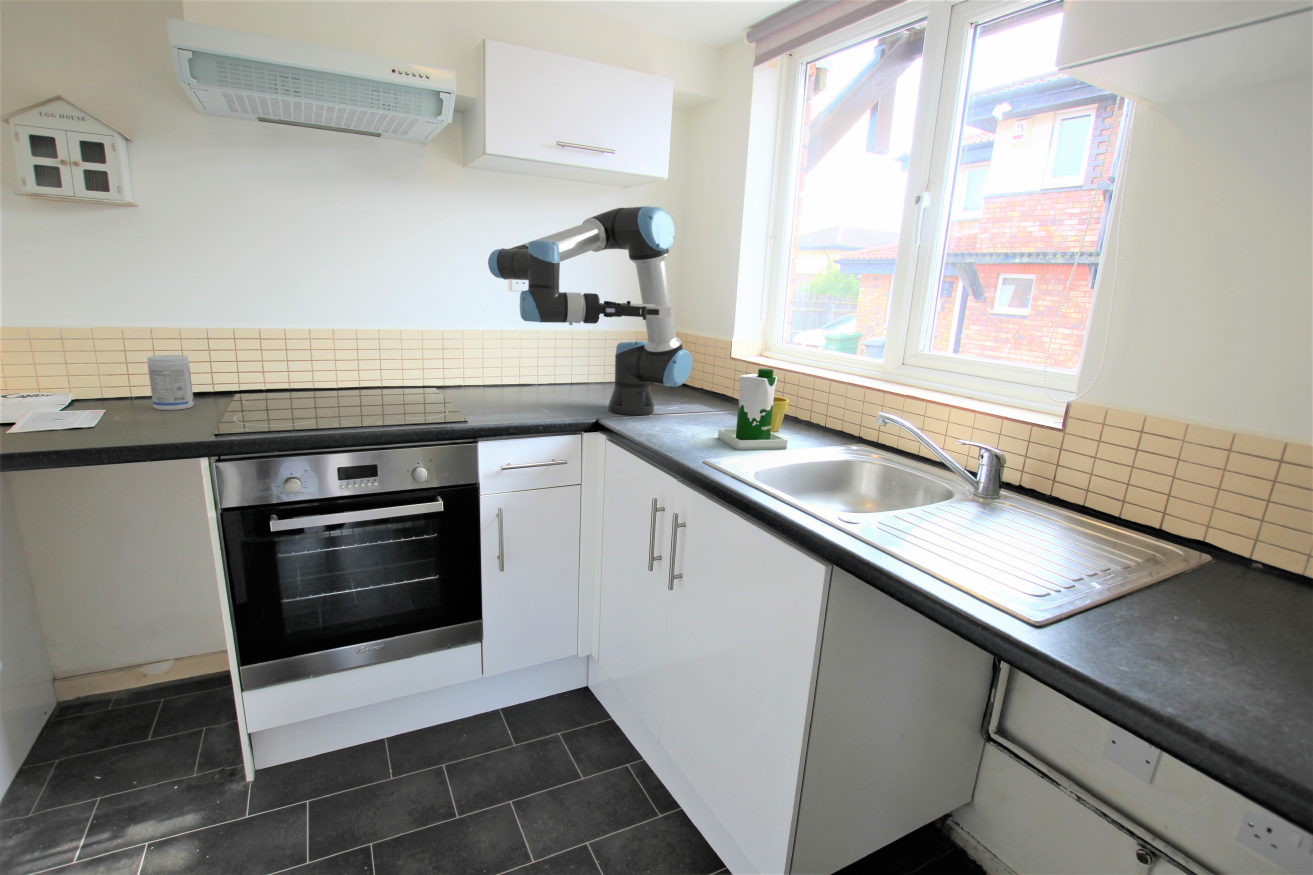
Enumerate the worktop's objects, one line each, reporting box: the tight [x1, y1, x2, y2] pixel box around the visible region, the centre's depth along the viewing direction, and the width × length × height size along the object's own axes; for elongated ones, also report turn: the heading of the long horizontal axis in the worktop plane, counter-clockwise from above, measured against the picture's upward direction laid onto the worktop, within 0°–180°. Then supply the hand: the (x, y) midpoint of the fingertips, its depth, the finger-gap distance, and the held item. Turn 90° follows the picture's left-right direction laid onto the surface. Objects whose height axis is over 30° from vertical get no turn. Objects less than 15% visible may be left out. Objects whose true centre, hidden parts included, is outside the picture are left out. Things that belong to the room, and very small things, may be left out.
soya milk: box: [735, 368, 778, 441], centre depth 178 cm, size 9×9×20 cm
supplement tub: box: [146, 354, 195, 411], centre depth 186 cm, size 10×10×15 cm
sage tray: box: [717, 428, 788, 451], centre depth 181 cm, size 14×14×2 cm
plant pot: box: [771, 395, 789, 433], centre depth 198 cm, size 10×10×10 cm
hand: (662, 310), depth 171 cm, fingers open, 13 cm apart
